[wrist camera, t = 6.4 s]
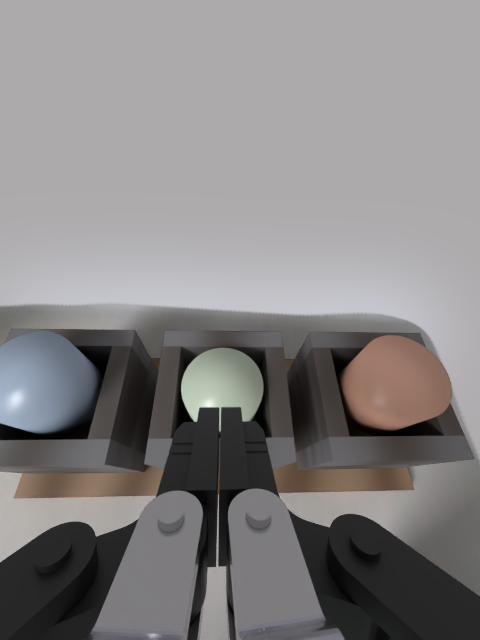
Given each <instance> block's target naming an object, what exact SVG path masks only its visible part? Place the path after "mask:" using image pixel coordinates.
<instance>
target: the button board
mask: <svg viewBox="0 0 480 640" xmlns="http://www.w3.org/2000/svg"><path fill="white" fill-rule="evenodd" d="M43 331H44V332H52V333H56V334H59V335H61V336H63V337H65V338H66V339H67V340H68V341H70V342H71V343H72V344H73V345H74V346H75V347H76V348H77V349H78V350H79V351H80V352H81V353H82V354H83V355H84V356H85V357H86V358H87V359H88V360H90V361H91V362H92V363H93V364H94V365H95V366H96V367H97V368H98V369H99V370H100V371H101V372H102V373H103V375H104V379H103V383H102V387H101V391H100V394H99V398H98V402H97V405H96V409H95V413H94V417H93V420H92V422H91V423H90V424H89V425H88V426H87V427H85V428H84V429H82V430H81V431H79V432H77V433H75V434H72V435H69V436H66V437H60V438H51V437H46V436H43V435H39V434H36V433H32V432H29V431H25V430H22V429H19V428H15V427H12V426H8V425H5V424H1V423H0V471H1V472H14V473H23V474H22V477H21V479H20V482H19V485H18V488H17V490H16V493H15V496H14V498H57V497H104V496H151V495H157V492H158V488H159V485H160V481H161V478H162V475H163V471H164V468H165V464H166V461H167V457H168V455H169V450H170V447H171V445H172V440H173V437H174V433H175V431H176V430H177V429H178V428H179V427H180V426H181V425H182V424H183V422H193V421H192V419H191V417H190V415H189V413H188V411H187V409H186V407H185V404H184V402H183V398H182V393H181V384H182V379H183V375H184V373H185V371H186V369H187V367H188V366H189V364H190V363H191V362H192V361H193V360H194V359H195V358H196V357H197V356H199V355H200V354H202V353H204V352H206V351H208V350H211V349H215V348H231V349H235V350H238V351H240V352H242V353H244V354H246V355H247V356H248V357H250V358H251V359H252V360H253V361H254V362H255V364H256V365H257V367H258V368H259V370H260V372H261V375H262V379H263V396H262V399H261V402H260V404H259V407H258V409H257V411H256V414H255V416H254V419H253V421H256V422H257V423H258V424H259V426H260V427H261V428H262V429H263V430H264V434H265V438H266V444H267V447H268V453H269V456H270V460H271V464H272V469H273V473H274V478H275V482H276V486H277V491H278V493H292V492H339V491H386V490H414V487H413V483H412V480H411V477H410V474H409V471H408V467H410V466H418V465H427V464H435V463H444V462H452V461H461V460H470V459H475V458H474V456H473V454H472V452H471V449H470V447H469V445H468V442H467V440H466V438H465V436H464V433H463V431H462V429H461V426H460V424H459V422H458V420H457V417H456V415H455V413H454V410H453V408H452V406H451V404H449V406H448V407H447V409H446V410H445V411H444V412H443V413H442V414H440V415H439V416H436V417H434V418H431V419H428V420H425V421H422V422H419V423H416V424H413V425H410V426H407V427H404V428H402V429H399V430H396V431H393V432H390V433H386V434H381V435H374V434H369V433H366V432H363V431H361V430H359V429H357V428H355V427H354V426H353V425H351V424H350V423H349V422H348V421H347V420H346V418H345V414H344V409H343V405H342V400H341V396H340V391H339V387H338V382H337V375H338V374H339V373H340V372H341V371H342V370H343V369H344V368H345V367H346V366H347V365H348V364H349V363H350V362H351V361H352V360H353V359H354V358H355V357H356V356H357V355H358V354H359V353H360V352H361V351H362V350H363V349H364V348H365V347H366V346H367V345H368V344H369V343H370V342H371V341H372V340H374V339H376V338H378V337H381V336H386V335H396V336H402V337H406V338H409V339H411V340H414V341H416V342H418V343H419V344H421V345H423V346H424V347H426V346H425V344H424V342H423V339H422V337H421V335H420V333H362V332H309V334H308V336H307V338H306V340H305V341H304V343H303V345H302V347H301V349H300V350H299V352H298V354H297V356H296V358H295V359H284V350H283V341H282V333H281V332H268V331H175V330H165V333H164V339H163V346H162V352H161V358H150V356H149V354H148V352H147V351H146V349H145V347H144V345H143V344H142V342H141V340H140V338H139V336H138V335H137V333H136V331H135V330H81V329H11V331H10V333H9V335H8V337H7V338H6V340H5V342H4V343H6V342H8V341H9V340H11V339H13V338H16V337H18V336H21V335H24V334H28V333H32V332H43ZM219 479H220V438H219V474H218V494H219Z"/></svg>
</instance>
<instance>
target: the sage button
mask: <svg viewBox="0 0 480 640" xmlns="http://www.w3.org/2000/svg"><path fill="white" fill-rule="evenodd" d="M181 393H182V398H183V402H184V404H185V407H186V409H187V411H188V413H189V415H190V417H191V419H192V421H193V422H197V418H198V412H199V408H200V407H219V438H220V437H221V407H241V412H242V421H253V419H254V416H255V414H256V411H257V409H258V407H259V404H260V402H261V399H262V396H263V379H262V375H261V372H260V370H259V368H258V367H257V365H256V364H255V362H254V361H253V360H252V359H251V358H250V357H248V356H247V355H246V354H244V353H242V352H240V351H238V350H235V349H231V348H215V349H211V350H208V351H206V352H204V353H202V354H200V355H199V356H197V357H196V358H195V359H194V360H193V361H192V362H191V363H190V364H189V366H188V367H187V369H186V371H185V373H184V375H183V379H182V384H181Z"/></svg>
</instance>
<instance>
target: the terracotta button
mask: <svg viewBox="0 0 480 640" xmlns="http://www.w3.org/2000/svg"><path fill="white" fill-rule="evenodd" d="M337 382H338V387H339V391H340V396H341V400H342V405H343V409H344V414H345V418H346V420H347V421H348V422H349V423H350V424H351V425H353V426H354V427H355V428H357V429H359V430H361V431H363V432H366V433H369V434H374V435H381V434H386V433H390V432H393V431H396V430H399V429H402V428H404V427H407V426H410V425H413V424H416V423H419V422H422V421H425V420H428V419H431V418H434V417H436V416H439V415H440V414H442V413H443V412H444V411H445V410H446V409H447V407H448V406H449V404H450V401H451V397H452V387H451V382H450V378H449V376H448V373H447V371H446V370H445V368H444V366H443V365H442V363H441V362H440V361H439V360H438V358H437V357H436V356H435V355H434V354H433V353H432V352H431V351H429V350H428V349H427V348H426V347H424V346H423V345H421V344H419V343H418V342H416V341H414V340H411V339H409V338H406V337H402V336H396V335H386V336H381V337H378V338H376V339H374V340H372V341H371V342H370V343H369V344H368V345H367V346H366V347H365V348H364V349H363V350H362V351H361V352H360V353H359V354H358V355H357V356H356V357H355V358H354V359H353V360H352V361H351V362H350V363H349V364H348V365H347V366H346V367H345V368H344V369H343V370H342V371H341V372H340V373H339V374H338V375H337Z"/></svg>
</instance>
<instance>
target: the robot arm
mask: <svg viewBox="0 0 480 640" xmlns="http://www.w3.org/2000/svg"><path fill="white" fill-rule="evenodd" d="M218 474H219V407H200V408H199V412H198V418H197V422H183V424H182V425H181V426H180V427H179V428H178V429H177V430H176V431H175V433H174V437H173V440H172V445H171V447H170V450H169V455H168V457H167V461H166V464H165V468H164V471H163V475H162V478H161V481H160V485H159V488H158V492H157V495H156V498H154V499H153V500H152V501H151V502H149V504H148V505H147V506H146V507H145V508H144V510H143V511H142V513H141V515H140V517H139V519H138V520H136V521H135V522H133V523H132V524H130V525H128V526H126V527H123V528H121V529H118V530H115V531H112V532H109V533H106V534H103V535H100V536H97V537H96V536H95V532H94V530H93V529H92V527H90V526H89V525H88V524H86V523H83V522H68V523H64V524H60V525H58V526H55V527H53V528H51V529H49V530H47V531H45V532H44V533H42V534H41V535H39V536H38V537H36V538H35V539H33V540H32V541H31V542H29V543H28V544H26V545H25V546H23V547H22V548H20V549H19V550H18V551H16V552H15V553H13V554H12V555H10V556H9V557H8V558H6V559H5V560H3V561H2V562H0V640H200V633H201V624H202V616H203V603H204V600H205V595H206V584H207V567H216V543H217V509H218ZM219 566H226V589H227V591H226V613H227V629H228V640H480V597H479V596H478V595H477V594H475V593H474V592H473V591H471V590H470V589H468V588H467V587H466V586H464V585H463V584H461V583H460V582H459V581H457V580H456V579H454V578H453V577H452V576H450V575H449V574H447V573H446V572H445V571H443V570H442V569H440V568H439V567H438V566H436V565H435V564H433V563H432V562H431V561H429V560H428V559H426V558H425V557H424V556H422V555H421V554H419V553H418V552H417V551H415V550H414V549H412V548H411V547H410V546H408V545H407V544H405V543H404V542H403V541H401V540H400V539H398V538H397V537H396V536H394V535H393V534H391V533H390V532H389V531H387V530H386V529H384V528H383V527H382V526H380V525H379V524H377V523H376V522H374V521H372V520H370V519H368V518H366V517H364V516H360V515H356V514H345V515H341V516H339V517H337V518H336V519H335V520H334V521H333V522H332V524H331V526H330V528H329V527H326V526H322V525H319V524H315V523H312V522H309V521H306V520H303V519H301V518H299V517H297V516H296V515H294V514H293V513H292V512H291V511H289V510H288V509H287V507H286V505H285V504H284V502H283V501H282V500H281V499H280V497H279V494H278V491H277V486H276V482H275V478H274V473H273V469H272V464H271V460H270V456H269V453H268V447H267V444H266V438H265V434H264V430H263V429H262V428H261V427H260V426H259V424H258V423H257V422H256V421H242V412H241V407H221V437H220V479H219Z"/></svg>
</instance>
